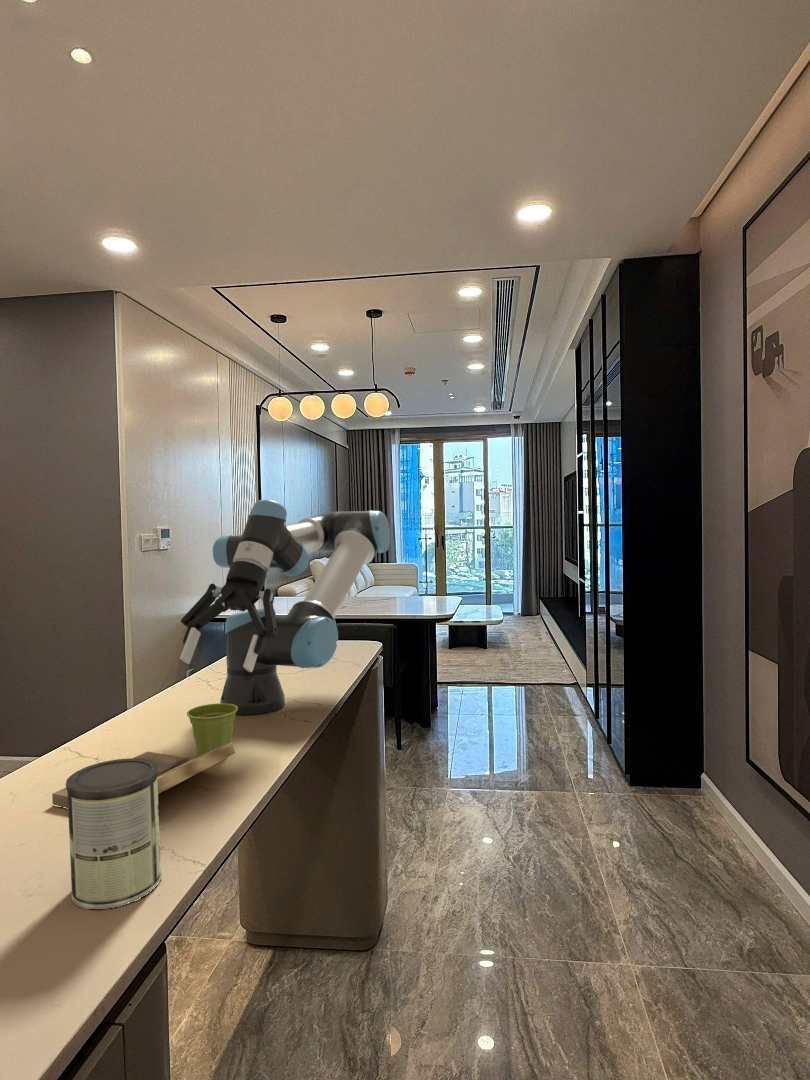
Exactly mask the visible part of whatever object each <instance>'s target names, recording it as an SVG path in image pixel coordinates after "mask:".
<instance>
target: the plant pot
mask: <svg viewBox="0 0 810 1080" xmlns="http://www.w3.org/2000/svg"><path fill="white" fill-rule="evenodd" d="M237 710H238V707H237V706H236V705H233V704H223V703H220V702H219V703H209V704H203V705H199V706H196V707H193V708H191V709H189V710H188V711H187V712H186V716H187V717H188V718H189V722H190V724H191V727H192V731H193V736H194V737H193V738H194V742H195V748H196V754H197V757H198V756H201V755H203V754H205V753H208V752H210V751H212V750H215V749H217V748H219V747H221V746H224V745H226V744H228V743H231V742H232V743H233V733H234V732H233V731H234V723H235V718H236V715H237V714H236V712H237Z"/></svg>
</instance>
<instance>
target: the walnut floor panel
mask: <svg viewBox="0 0 810 1080" xmlns="http://www.w3.org/2000/svg"><path fill="white" fill-rule="evenodd" d="M132 759H145V760H150V761H153V762H155V763H156V764H157V765H158V775H157V776H159V775H161V774H163V773H165V772H167V771H169V770H171V769H173V768H175V767H177V766H179V765H181V764H183V763H185V762H187V761H189V760H191V759H190V757H183V756H177V755H171V754H164V753H159V752H158V753H157V752H151V751H146V752H143V753H141V754H139V755H137V756H134V757H132ZM51 795H52V800H51V801H52V805H53V804H54V805H58V806H61V807H66V808H68V792H67V789H66V787H64V788H62V789H59V790H57V791H55V792H53V793H52V794H51Z"/></svg>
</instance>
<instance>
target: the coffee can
mask: <svg viewBox="0 0 810 1080" xmlns="http://www.w3.org/2000/svg"><path fill="white" fill-rule="evenodd" d="M132 758H133V757H132ZM132 758H130V757H129V758H118V759H113V760H107V761H103V762H98V763H94V764H91V765H88V766H86V767H83V768H81V769H79V770H77V771H75V772H74V773H73V774H71V775H69V777H68V778H67V779H66V781H65V788H66V789H67V792H68V809H67V810H68V812H67V813H68V830H69V832H68V833H69V855H70V856H69V857H70V879H71V880H70V881H71V885H70V886H71V894H70V895H71V901H72V902H73V904H74V905H76V906H77V907H79V908H81V909H84V910H89V909H107V910H109V909H108V908H112V909H116V908H115V907H118V906H121V905H124V904H127V903H128V902H132V901H135V900H137V899H139V898H140V897H142V896H144V895H146V894H147V893H149V892H150V891H151V890H153V888H154V887H155V886H156V885H157V883H158V882H159V881H160V878H161V879H162V877H161V876H162V872H161V870H162V869H161V845H160V841H161V840H160V820H159V819H160V817H159V814H160V813H159V794H158V786H157V775H158V765H157V764H156V763H155V762H153V761H150V760H145V759H132ZM160 882H161V881H160ZM153 891H154V890H153ZM149 894H150V893H149ZM146 896H147V895H146ZM139 900H140V899H139ZM137 901H138V900H137ZM135 902H136V901H135ZM121 907H122V906H121ZM118 908H119V907H118Z"/></svg>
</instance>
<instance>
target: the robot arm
mask: <svg viewBox="0 0 810 1080" xmlns="http://www.w3.org/2000/svg"><path fill="white" fill-rule="evenodd" d="M287 512H288V511H287V509H286V507H285V506H283V504H281V503H279V502H277V501H275V500H272V499H259V500H257V501H256V502H255V503H254V504H253V506H252V508H251V511H250V512H249V514H248V516H247V519H246V520H247V521H246V524H245V527H244V530H243V533H242V534H241V535H226V536H219V537H218V538H217V539H215V541H214V543H213V545H212V559H213V561H214V563H215V564H216V565H217V566H219V567H220V568H226V569H228V572H227V575H226V578H225V583H224V585H223V586H217V585H216V584H215V583H214V582H213V583H210V584H209V586H208V588H207V590H206V591H205V593H204V594H203V595H202V596H201V597H200V598H199V600H197V602H196V603H194V605H193V606H192V607H191V608H190V609H189V610H188V611H187V612H186V614H185V615H183V617H182V618H181V620H180V623H181V624H183V626H185V627H186V628H187V629H186V631H185V633H184V634H185V635H184V637H183V639H182V644H184V645H183V648H182V651H181V654H180V657H179V659H180V660H181V661H182V662H183V663H185V664H186V665H187V664H188V665H190V663H191V661H192V659H193V657H194V653H195V651H196V647H197V645H198V642H199V639H200V637H201V635H202V634H201V633H202V632H200V631H199V630H201V629H203V627H204V626H206V625H207V624H208V623H210V622H211V621H213V620H214V619H215V618H216V617H218V616H220V614H221V613H225V612H227V611H228V610H230V611H239V612H235V613H232V614H230V615H228V616H227V618H226V620H225V631H224V634H225V653H226V655H225V656H226V678H225V682H224V685H223V689H222V691H221V692H222V694H221V696H220V700H219V703H223V704H233V705H236V706H237V707H238V710H237V712H236V715H240V716H244V715H245V716H246V715H247V716H248V715H260V714H266V713H269V712H273V711H276V710H279V709H281V708H282V707H284V706H285V704H286V702H285V700H286V698H285V692H284V691H283V686H282V684H281V680H280V678H279V675H278V671H277V666H282V667H297V668H301V669H309V668H311V669H313V668H315V669H316V668H317V669H318V668H321V667H323V666H325V665H326V664H328V663H329V662H330V660H331V659H332V658H333V656H334V654H335V653H336V650H337V647H338V645H337V642H338V641H339V631H338V626H337V622H336V619H335V617H336V615H337V614H338V612H339V610H340V608H341V606H342V605H343V603H344V600H345V599H346V597H347V596H348V594H349V592H350V589H352V586H353V584H354V583H355V581H356V578H357V577H358V576H359V573H360V572H361V569H362V568H363V566H364V565H368V564H369V563H370V562H372V561H373V559H374V557H375V556H376V554H377V553H379V554H382V553H386V552H387V551H388V550H389V547H390V543H391V530H390V525H389V521H388V518H387V516H386V514H385V513H384V512H382V511H381V510H372V509H370V510H363V511H362V510H359V511H358V510H357V511H356V510H355V511H353V510H352V511H351V510H350V511H330V512H326V513H322V514H319V515H318V514H317V515H314V516H311V517H306V518H303V519H301V520H299V521H298V522H297V523H295V524H291V525H290V524H289V525H285V523H286V521H287V515H288V513H287ZM315 552H316V553H317V552H323V553H325V552H326V553H327V552H328V553H331V555H330V557H329V559H328V560H327V562H326V564H325V565H324V567H323V568H322V570H321V572H320V573H319V575H318V577H317V578H316V580H315V582H314V583H313V585H312V587H311V588H310V590H309V591H308V593H307V595H306V596H305V598H304V599H303V600H301V601H297V602H296V603H294V604H293V605H292V607H291V608H290V610H289V612H288V614H285V615H276V610H275V609H274V600H275V594H274V593H273V592H272V591H271V589H270V588H266V589H264V591H263V590H262V589H263V588H264V585H265V581H266V579H267V576H268V574H267V573H268V572H269V570H270V569H277V570H279V572H280V573H282V574H283V575H285V576H288V577H295V576H298V575H300V574H302V573H303V572H304V571H305V570H306V569H307V567H308V565H309V563H310V562H309V561H310V556H309V554H310V553H315ZM260 599H261V601H262V605H263V608H259V609H257V607H256V605H255V604H256V602H259V600H260Z"/></svg>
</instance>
